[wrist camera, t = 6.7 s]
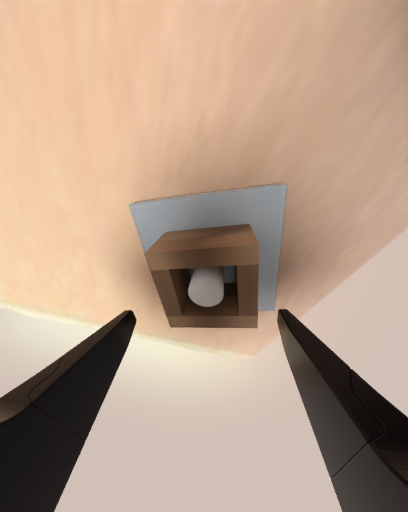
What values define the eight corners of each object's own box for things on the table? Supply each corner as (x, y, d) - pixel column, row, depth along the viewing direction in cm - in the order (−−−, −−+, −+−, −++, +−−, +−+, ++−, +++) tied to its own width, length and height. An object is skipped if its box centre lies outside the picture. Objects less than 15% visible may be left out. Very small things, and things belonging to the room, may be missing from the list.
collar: (249, 223, 12) (259, 244, 9) (249, 292, 15) (257, 327, 12) (165, 232, 13) (144, 253, 10) (181, 294, 17) (170, 327, 13)
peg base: (280, 182, 12) (317, 190, 7) (270, 300, 18) (287, 348, 13) (137, 201, 14) (91, 217, 9) (168, 301, 19) (150, 344, 15)
